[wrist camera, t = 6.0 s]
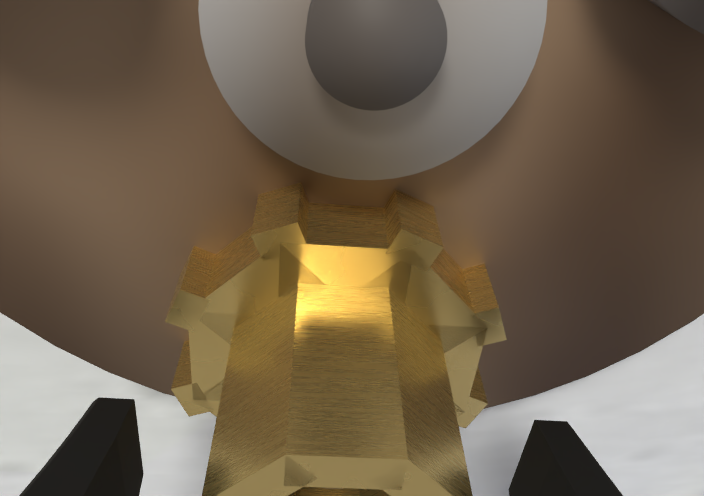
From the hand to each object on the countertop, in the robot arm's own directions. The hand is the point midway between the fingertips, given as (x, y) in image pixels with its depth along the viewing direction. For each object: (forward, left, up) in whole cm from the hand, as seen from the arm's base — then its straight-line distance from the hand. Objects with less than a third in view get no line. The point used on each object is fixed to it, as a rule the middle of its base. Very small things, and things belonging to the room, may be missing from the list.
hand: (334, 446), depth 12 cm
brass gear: (0, 0, -4) cm, 4 cm away
